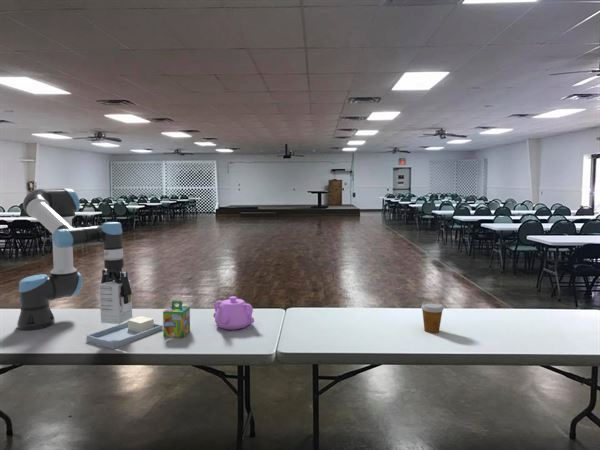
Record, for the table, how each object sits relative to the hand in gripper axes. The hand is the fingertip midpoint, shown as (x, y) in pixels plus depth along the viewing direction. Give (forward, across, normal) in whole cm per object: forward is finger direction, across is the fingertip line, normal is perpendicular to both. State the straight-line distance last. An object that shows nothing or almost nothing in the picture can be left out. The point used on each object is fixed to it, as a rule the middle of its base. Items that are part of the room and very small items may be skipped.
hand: (116, 309), depth 183 cm
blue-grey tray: (+13, 0, +4) cm, 14 cm away
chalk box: (+14, +18, +17) cm, 28 cm away
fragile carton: (+13, 0, +12) cm, 17 cm away
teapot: (+14, +33, +36) cm, 51 cm away
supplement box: (+5, 0, 0) cm, 5 cm away
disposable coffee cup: (+14, +115, +77) cm, 139 cm away
